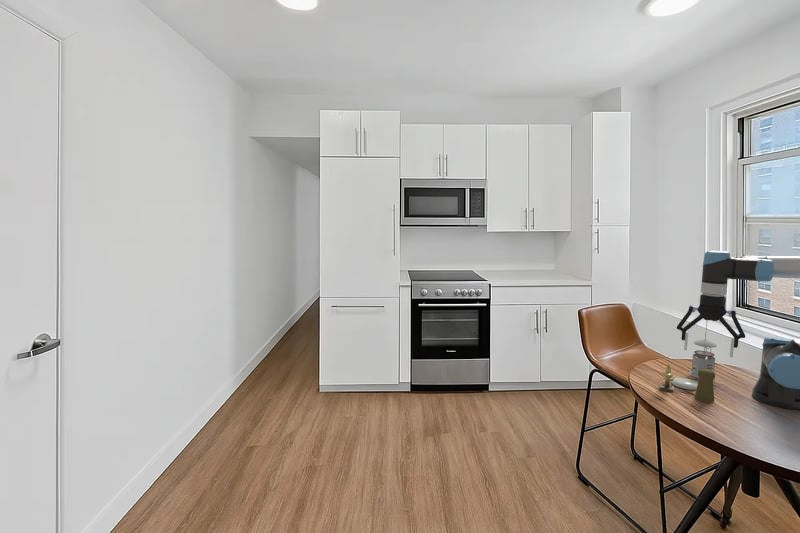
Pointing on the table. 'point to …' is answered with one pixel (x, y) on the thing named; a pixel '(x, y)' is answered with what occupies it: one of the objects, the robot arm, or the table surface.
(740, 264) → the robot arm
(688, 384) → the dish
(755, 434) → the table surface
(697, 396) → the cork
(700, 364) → the french press
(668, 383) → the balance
